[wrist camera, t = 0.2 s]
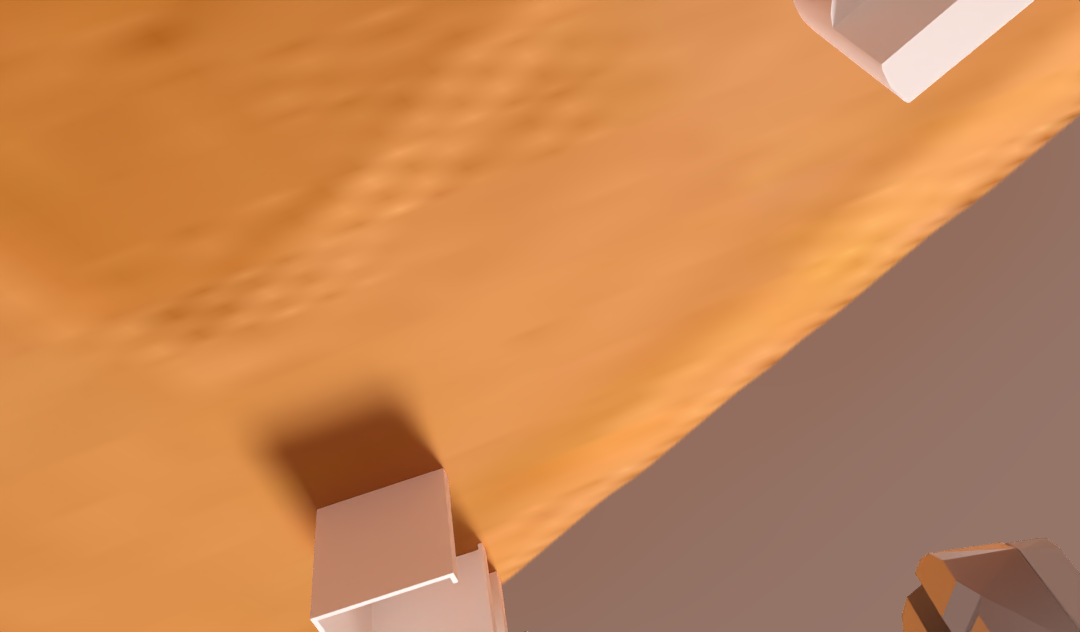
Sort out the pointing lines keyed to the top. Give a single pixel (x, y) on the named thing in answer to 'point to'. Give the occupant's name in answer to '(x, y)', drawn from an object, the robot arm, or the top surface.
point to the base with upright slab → (907, 35)
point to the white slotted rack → (400, 565)
